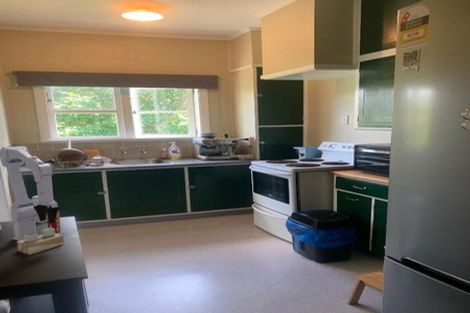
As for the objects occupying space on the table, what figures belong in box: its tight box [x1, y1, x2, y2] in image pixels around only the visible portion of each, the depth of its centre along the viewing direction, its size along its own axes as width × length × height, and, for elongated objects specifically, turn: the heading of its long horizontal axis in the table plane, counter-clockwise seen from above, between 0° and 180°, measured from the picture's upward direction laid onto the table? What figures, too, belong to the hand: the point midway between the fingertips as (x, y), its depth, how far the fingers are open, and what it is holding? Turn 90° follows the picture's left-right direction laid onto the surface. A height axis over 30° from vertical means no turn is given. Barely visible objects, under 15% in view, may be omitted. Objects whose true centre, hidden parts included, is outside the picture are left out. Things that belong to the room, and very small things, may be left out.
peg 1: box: [24, 231, 39, 243], centre depth 131 cm, size 4×4×4 cm
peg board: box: [16, 233, 65, 256], centre depth 135 cm, size 10×14×4 cm
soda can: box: [46, 210, 61, 234], centre depth 153 cm, size 5×5×12 cm
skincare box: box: [31, 195, 49, 224], centre depth 177 cm, size 8×6×15 cm
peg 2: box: [41, 227, 55, 238], centre depth 137 cm, size 4×4×4 cm
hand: (47, 221), depth 137 cm, fingers open, 7 cm apart
